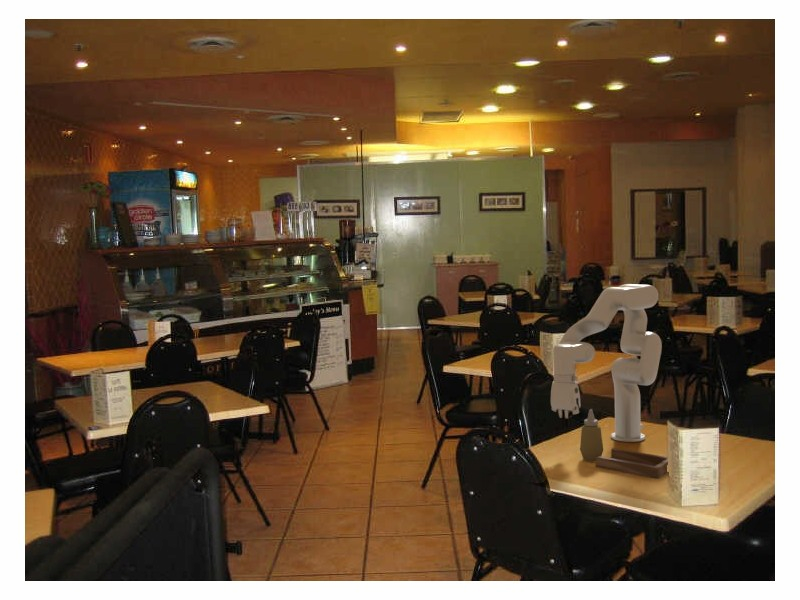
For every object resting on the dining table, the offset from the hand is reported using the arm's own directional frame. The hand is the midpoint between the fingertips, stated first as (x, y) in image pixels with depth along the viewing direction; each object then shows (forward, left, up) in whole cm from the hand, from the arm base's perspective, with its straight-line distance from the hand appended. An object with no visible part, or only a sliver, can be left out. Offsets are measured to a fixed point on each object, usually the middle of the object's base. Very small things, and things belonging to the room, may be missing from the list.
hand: (565, 428), depth 273 cm
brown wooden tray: (0, +26, -10) cm, 28 cm away
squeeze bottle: (0, +10, -10) cm, 14 cm away
